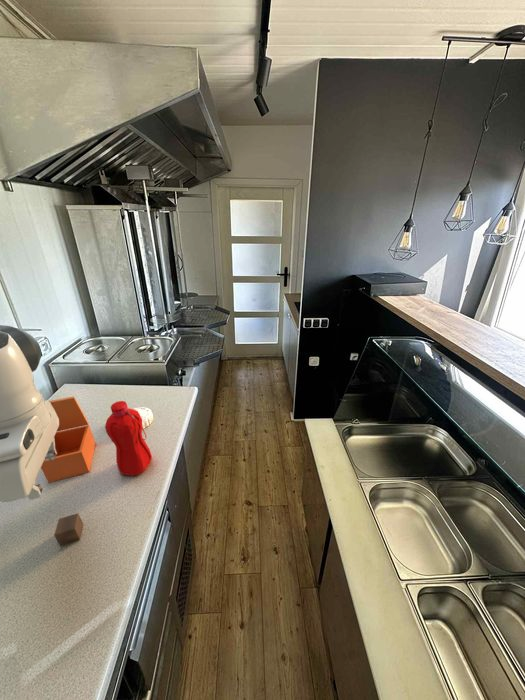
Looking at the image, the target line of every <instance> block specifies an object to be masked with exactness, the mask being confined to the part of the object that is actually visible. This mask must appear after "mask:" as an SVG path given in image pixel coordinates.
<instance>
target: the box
mask: <svg viewBox="0 0 525 700" xmlns="http://www.w3.org/2000/svg"><path fill="white" fill-rule="evenodd" d="M54 438H55V450H56V452H57V455H56V457H55V459H54V460H50V461H46V460H45V459H44V461H43V464H42V466H41V468H40V470H41V471H42V473H43V476H44V477H45V479H46V481H47V483H52V482H56V481H60V480H64V479H67V478H72V477H76V476H80V475H82V474H83V475H84V474H87V473H90V471H91V467H92V462H93V457H94V453H95V449H96V445H97V443H96V440H95V438H94V435H93V432H92V428H91V427H90V424H88V425H85V426H80V427H76V428H71V429H67V430H62V431H58V432H56V434H55V436H54Z"/></svg>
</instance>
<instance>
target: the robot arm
mask: <svg viewBox="0 0 525 700" xmlns="http://www.w3.org/2000/svg"><path fill="white" fill-rule="evenodd" d="M41 357H42V350H41V345H40V344H39V342H38V340H37V339H36V338H35V337H34V336H33V335H31V334H30V333H28V332H27V331H25V330H23V329H20V328H18V327H14V326H11V325H4V324H3V325H1V324H0V502H1V503H9V502H13V501H17V500H21V499H24V498H28V500H35V499H38V498H40V497H41V496H42V492H43V490H44V489H43V487H42V485H41V483H38V484H36V480H37V477H38V475H39V473H40V470H41V466H42V464H43V461H44V459H45V460H46V461H50V460H54V459H55V457H56V455H57V452H56V450H55V438H54V436H55V434H56V431H57V429H58V427H59V418H58V416H57V414H56V412H55V410H54V408H53V406H52V405H51V403H50V402H49V401H50V400H45V398H44V396H43V395H42V393H41V391H40V390H38V389H37V387H36V385H35V377H34V373H33V372H36V371H37V369H38V367H39V366H40V365H39V364H40V362H41Z"/></svg>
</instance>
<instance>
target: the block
mask: <svg viewBox="0 0 525 700" xmlns="http://www.w3.org/2000/svg"><path fill="white" fill-rule="evenodd" d="M57 520H58V521H57V524H56V527H55V531H54V534H53V535H54V538H55V540H56V541H57V543H58V545H59V546H60V547H61V546H65V545H68V544H71V543H73V542H76V541H80V540H81V536H82V532H83V528H84V522H83V520H82V518H81V515H80V514H79V512H77V513H74V514H71V515H68V516H64V517H60V518H58V519H57Z"/></svg>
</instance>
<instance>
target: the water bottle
mask: <svg viewBox="0 0 525 700" xmlns="http://www.w3.org/2000/svg"><path fill="white" fill-rule="evenodd" d="M110 411H111V414H110V415H109V416H108V418H107V419H106V421H105V425H104V428H105V433H106V434H107V436H108V438H109V439H110V440H111V442H112V443H113V444H114V445H115V452H116V453H115V460H116V461H115V462H116V465H117V469H118V471H119V473H120V474H122V475H124V476H125V475H126V476H131V477H133V476H139V475H141V474H143V473H144V472H145V471H146V470H147V469H148V467H149V465H150V464H151V462H152V458H153V454H152V452H151V449H150V447H149V446H148V444H147V442H146V440H147V434H146V432H145V428H144V429H143V427H142V418H141V416H140V414H139V413H138V411H136V410H134V408H130V407H128V404H127V402H126V401H125V400H119V401H115V402H114V403H112V404H111V405H110ZM143 434H144V437H143Z"/></svg>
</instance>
